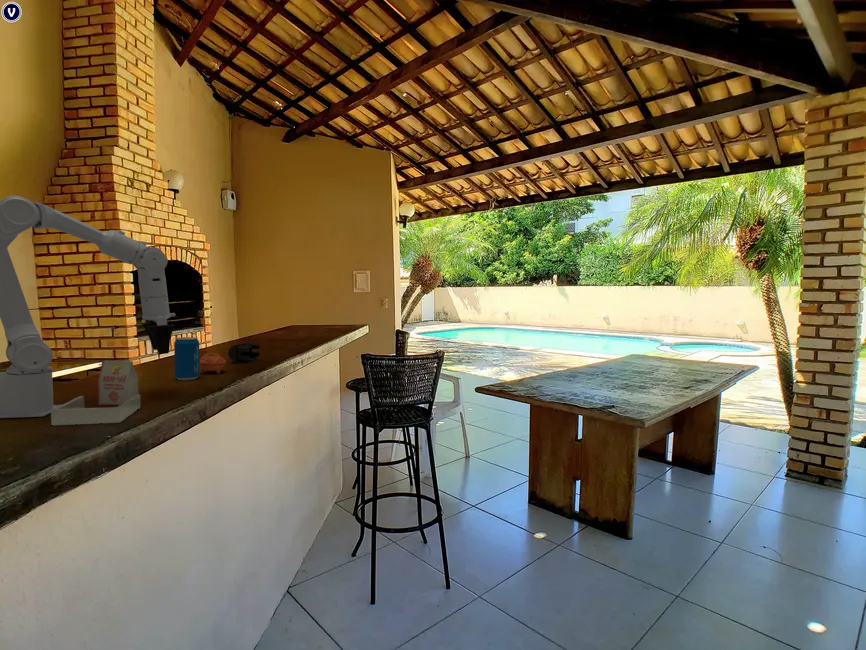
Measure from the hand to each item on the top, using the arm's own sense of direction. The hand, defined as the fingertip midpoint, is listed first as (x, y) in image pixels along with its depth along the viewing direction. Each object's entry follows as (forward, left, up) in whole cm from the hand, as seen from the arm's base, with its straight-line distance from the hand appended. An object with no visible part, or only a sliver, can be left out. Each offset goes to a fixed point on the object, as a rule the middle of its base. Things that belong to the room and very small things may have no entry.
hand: (160, 351), depth 115 cm
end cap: (+13, +50, -11) cm, 53 cm away
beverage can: (+1, +20, -11) cm, 23 cm away
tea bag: (-7, -8, -11) cm, 15 cm away
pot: (+6, +29, -11) cm, 32 cm away
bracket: (-7, -18, -11) cm, 22 cm away
